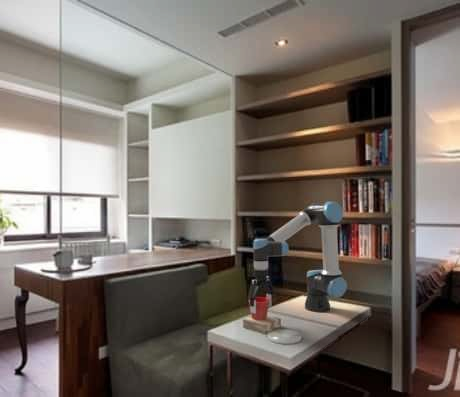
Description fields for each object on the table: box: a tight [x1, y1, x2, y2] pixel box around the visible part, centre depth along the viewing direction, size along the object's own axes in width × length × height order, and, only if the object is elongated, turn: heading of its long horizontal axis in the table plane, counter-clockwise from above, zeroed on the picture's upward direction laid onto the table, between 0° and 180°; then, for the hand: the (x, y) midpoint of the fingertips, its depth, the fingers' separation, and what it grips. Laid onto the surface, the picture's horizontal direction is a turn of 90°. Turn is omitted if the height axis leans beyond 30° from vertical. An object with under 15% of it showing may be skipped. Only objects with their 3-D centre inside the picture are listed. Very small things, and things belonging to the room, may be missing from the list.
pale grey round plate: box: [267, 328, 303, 345], centre depth 163 cm, size 16×16×1 cm
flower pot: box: [247, 296, 269, 320], centre depth 180 cm, size 11×11×10 cm
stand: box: [242, 314, 282, 334], centre depth 178 cm, size 14×14×4 cm
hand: (261, 309), depth 178 cm, fingers open, 13 cm apart
